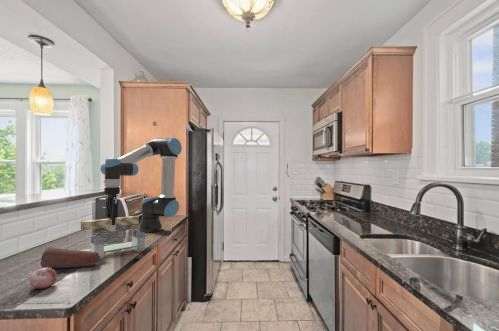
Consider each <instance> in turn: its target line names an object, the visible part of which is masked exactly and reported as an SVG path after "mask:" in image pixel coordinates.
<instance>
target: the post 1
mask: <svg viewBox="0 0 499 331" xmlns="http://www.w3.org/2000/svg"><path fill="white" fill-rule="evenodd" d="M104 246H105V238H104V237H101V235H96V236H90V246H89V247H90V248H89V249H90V251H91V252H98V255H99V256H100V259H99V260H103V259H104V257H105V256H104V253H105V252H104Z"/></svg>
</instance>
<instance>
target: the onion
mask: <svg viewBox="0 0 499 331" xmlns="http://www.w3.org/2000/svg"><path fill="white" fill-rule="evenodd" d="M57 279H58V275H57V272H56V270H55V268H53V269H52V268H48V267H46V268H42V267H41V268H39V269H37V270H35V271H34V272H33V273H32V274H31V276H30V279H29V284H30V286H31V287H32V288H33V289H37V290H40V291H42V290H44V289H48V288H50V287H51V286H52V285H54V284H55V282H56V281H57ZM49 286H50V287H49ZM41 289H42V290H41Z"/></svg>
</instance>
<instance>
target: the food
mask: <svg viewBox="0 0 499 331" xmlns="http://www.w3.org/2000/svg"><path fill="white" fill-rule="evenodd" d="M81 250H82V249H79V250H76V249H69V248H68V249H67V248H59V247H55V246H51V247H47V248H46V249H45V250H44V252H43V253H42V256H41V258H40V259H41V260H40V266H41V268H46V267H48V268H53V269H69V268H81V267H84V266H85V267H93V266H95V265H96V264H97V263H98V262H99V261H100V260H101V259H100V256H99V255H98V252H91V251H81ZM85 267H84V268H85Z"/></svg>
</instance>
